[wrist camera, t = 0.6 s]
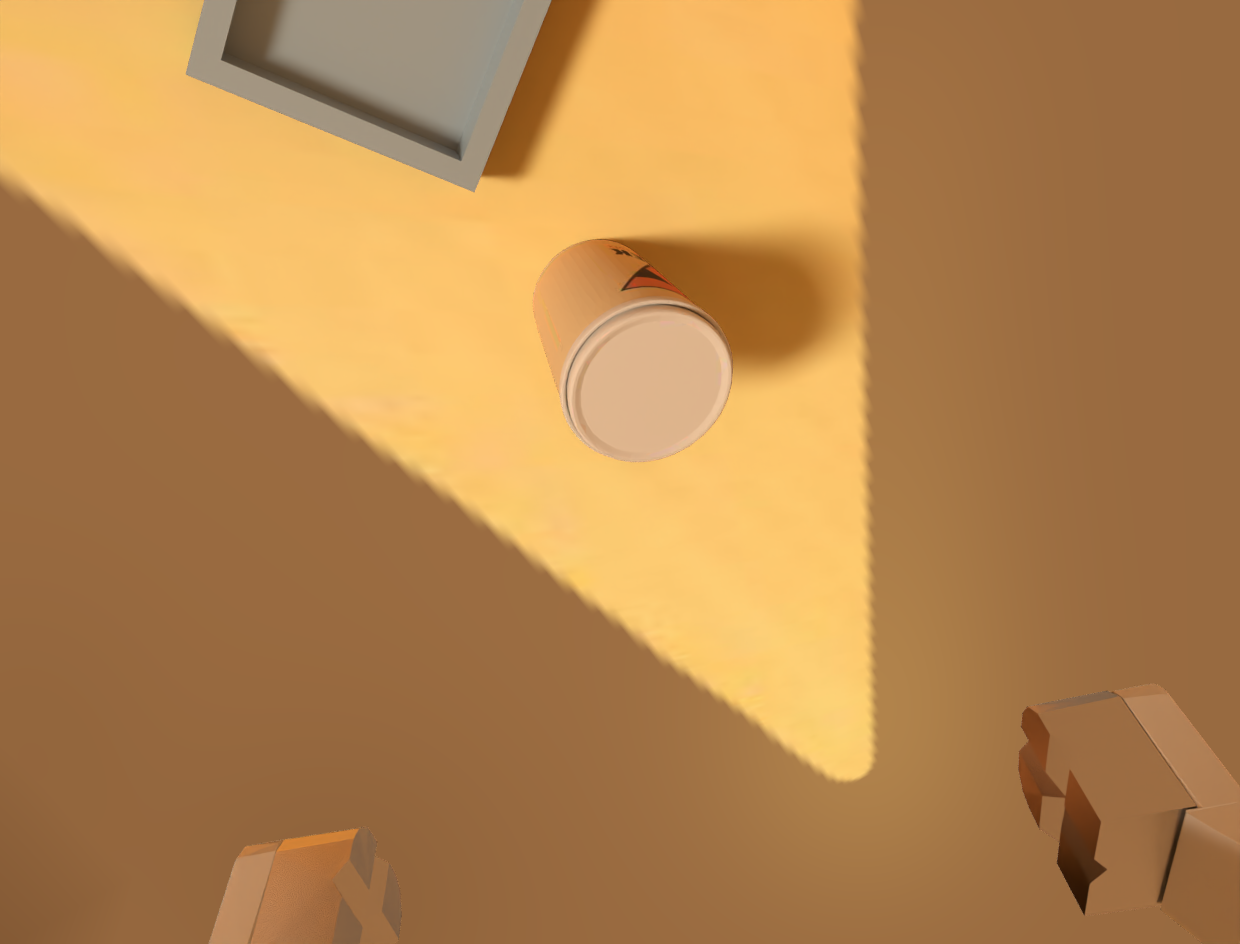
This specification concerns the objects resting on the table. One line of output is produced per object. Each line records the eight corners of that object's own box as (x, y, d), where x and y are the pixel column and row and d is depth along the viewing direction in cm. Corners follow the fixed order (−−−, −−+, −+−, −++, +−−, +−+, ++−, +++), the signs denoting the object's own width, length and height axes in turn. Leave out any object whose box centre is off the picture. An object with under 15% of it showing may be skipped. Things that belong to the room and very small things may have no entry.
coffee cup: (693, 296, 58) (770, 384, 48) (585, 394, 59) (639, 497, 50) (602, 191, 52) (669, 266, 43) (486, 302, 54) (526, 397, 44)
